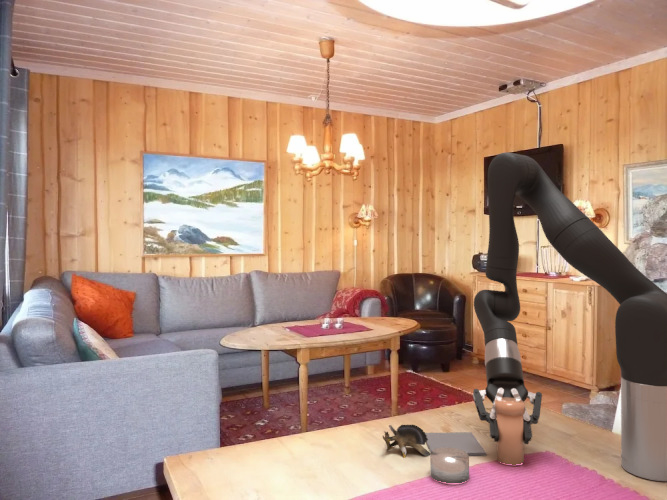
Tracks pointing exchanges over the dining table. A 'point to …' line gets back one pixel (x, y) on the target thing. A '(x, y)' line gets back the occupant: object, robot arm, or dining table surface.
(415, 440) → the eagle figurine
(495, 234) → the robot arm
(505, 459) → the peach dome-topped cylinder
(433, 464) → the metal tin
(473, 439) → the slate coaster
